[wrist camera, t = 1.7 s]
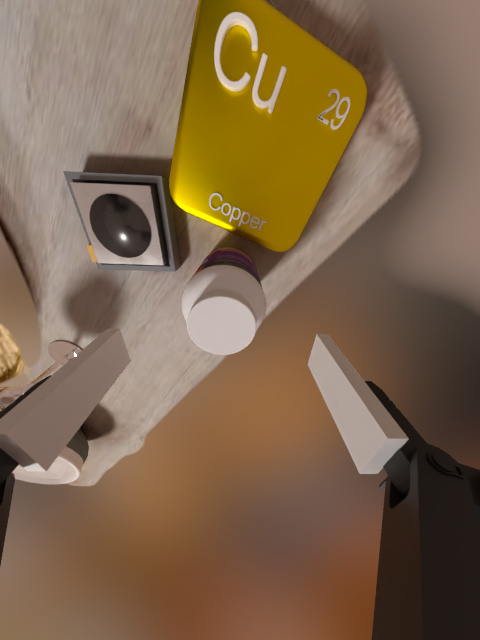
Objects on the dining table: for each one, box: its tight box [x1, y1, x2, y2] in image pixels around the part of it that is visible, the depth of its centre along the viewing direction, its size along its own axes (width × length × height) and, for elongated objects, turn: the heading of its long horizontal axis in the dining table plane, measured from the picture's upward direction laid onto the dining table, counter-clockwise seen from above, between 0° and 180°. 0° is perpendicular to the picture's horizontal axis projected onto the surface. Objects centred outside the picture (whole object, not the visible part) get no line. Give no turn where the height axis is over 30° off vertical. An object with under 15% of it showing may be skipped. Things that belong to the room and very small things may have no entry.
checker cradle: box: [63, 171, 180, 271], centre depth 22 cm, size 10×10×3 cm
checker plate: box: [70, 182, 169, 265], centre depth 21 cm, size 8×8×2 cm
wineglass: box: [0, 341, 82, 412], centre depth 26 cm, size 8×8×18 cm
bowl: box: [12, 428, 89, 484], centre depth 42 cm, size 19×19×8 cm
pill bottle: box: [182, 248, 266, 355], centre depth 20 cm, size 8×8×14 cm
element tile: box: [169, 0, 367, 252], centre depth 18 cm, size 15×15×5 cm
